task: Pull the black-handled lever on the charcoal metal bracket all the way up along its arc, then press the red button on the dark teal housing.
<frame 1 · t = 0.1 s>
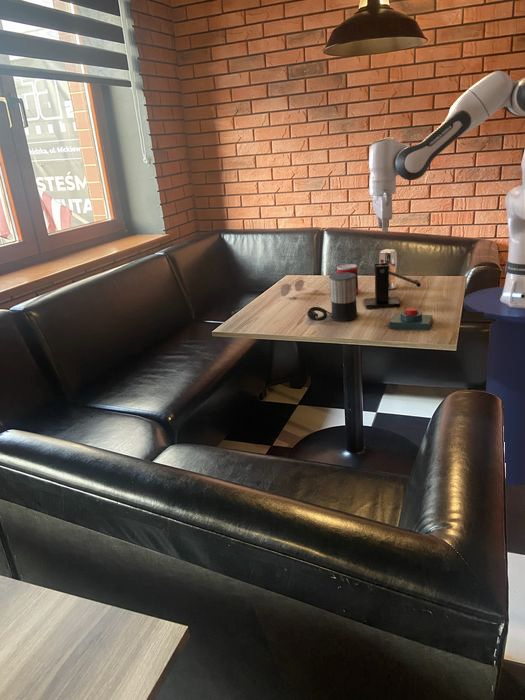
hand: (383, 230, 187), 27 cm above the table, tool pointing down, fingers open, 8 cm apart
sunglasses: (298, 295, 220), on the table
lever: (398, 276, 193), point 10 cm above the table, hinge at -25.0°
canned food: (348, 293, 216), on the table
button: (411, 311, 171), point 4 cm above the table, slide at 0.1 cm
milk frother: (332, 318, 187), on the table
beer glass: (388, 288, 218), on the table
bracket: (381, 304, 197), on the table
button box: (411, 325, 173), on the table
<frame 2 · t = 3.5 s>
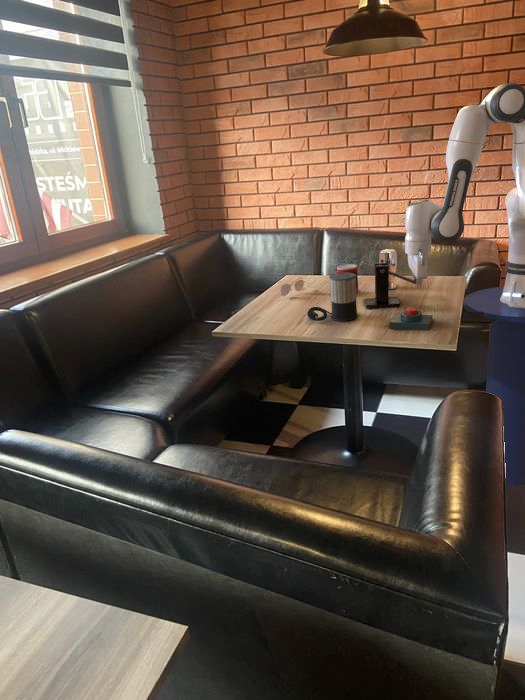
hand: (417, 285, 194), 6 cm above the table, tool pointing down, fingers closed on lever, 5 cm apart
lever: (398, 276, 193), point 10 cm above the table, hinge at -25.0°, touching gripper
everything else where it was.
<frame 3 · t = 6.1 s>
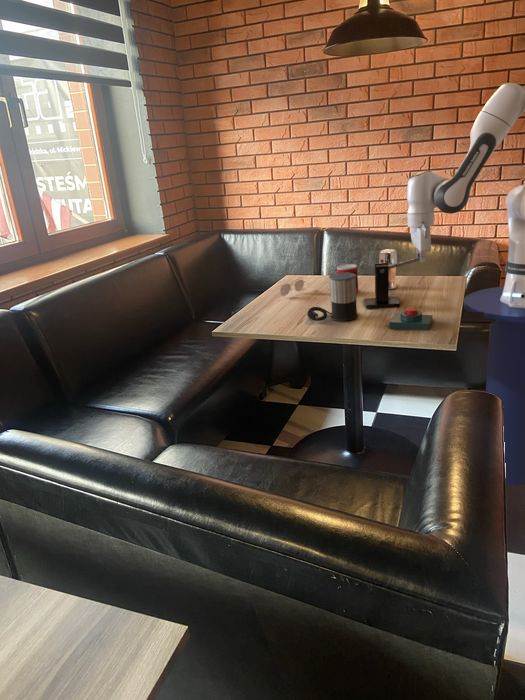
hand: (421, 260, 190), 15 cm above the table, tool pointing down, fingers closed on lever, 5 cm apart
lever: (400, 264, 192), point 14 cm above the table, hinge at 12.7°, touching gripper
everything else where it was.
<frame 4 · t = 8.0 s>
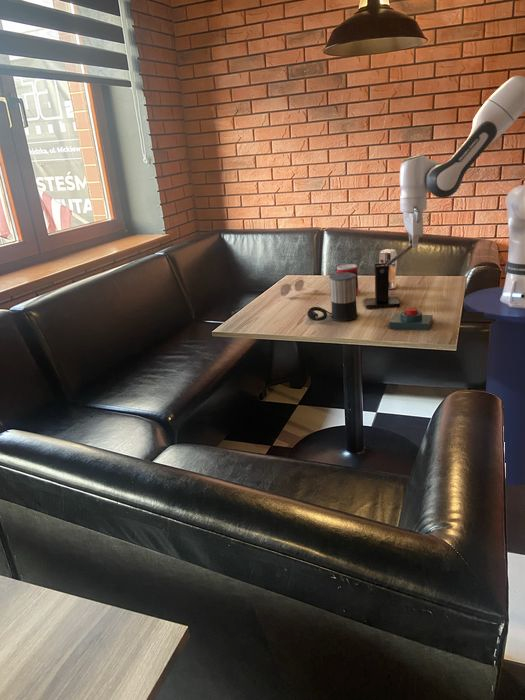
hand: (413, 245, 189), 21 cm above the table, tool pointing down, fingers closed on lever, 5 cm apart
lever: (396, 257, 191), point 17 cm above the table, hinge at 36.2°, touching gripper
everything else where it was.
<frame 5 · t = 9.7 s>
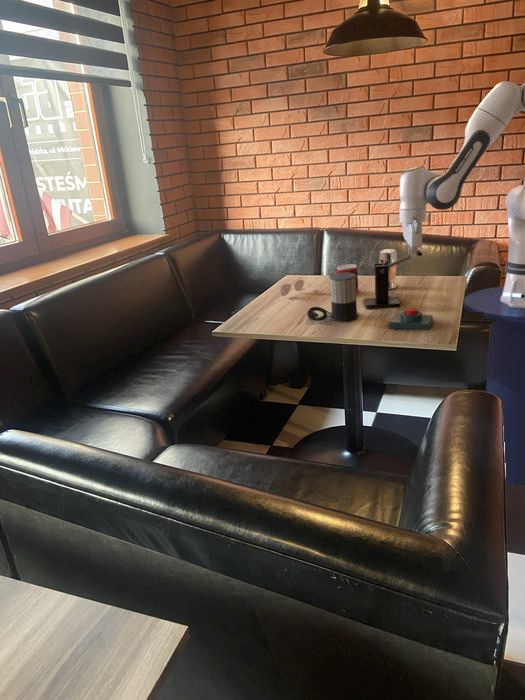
hand: (412, 256, 190), 17 cm above the table, tool pointing down, fingers open, 4 cm apart
lever: (399, 261, 191), point 15 cm above the table, hinge at 21.6°
everything else where it was.
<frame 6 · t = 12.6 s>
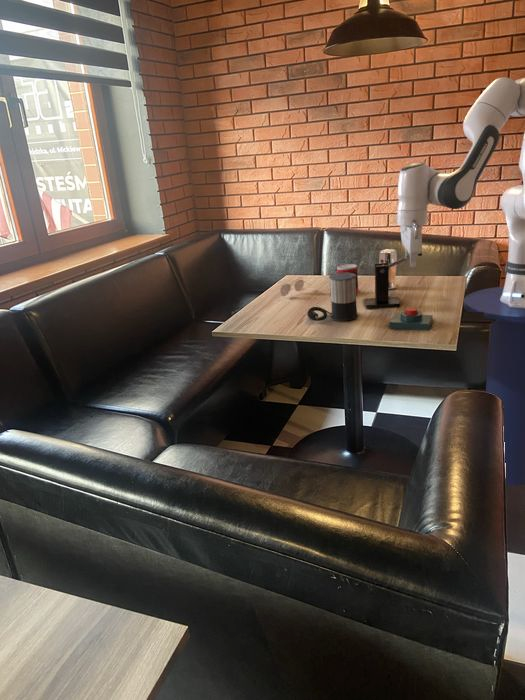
hand: (410, 263, 169), 19 cm above the table, tool pointing down, fingers open, 8 cm apart
nothing on the table moved.
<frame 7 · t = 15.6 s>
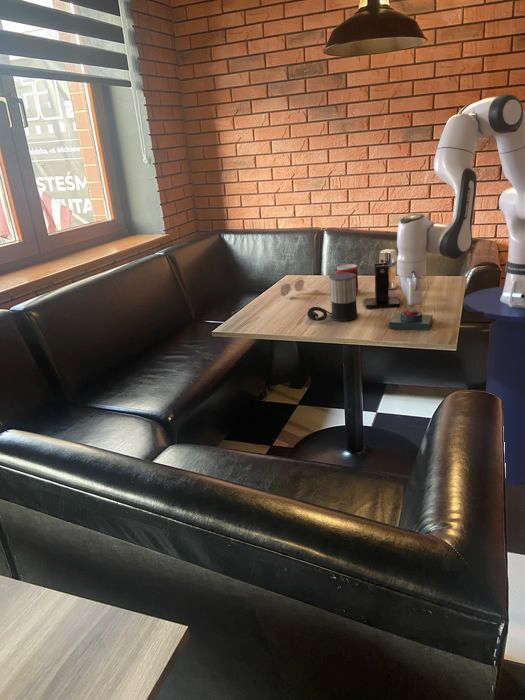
hand: (410, 311, 171), 5 cm above the table, tool pointing down, fingers closed, pressing on button
button: (411, 313, 172), point 4 cm above the table, slide at -0.5 cm, touching gripper
everything else where it was.
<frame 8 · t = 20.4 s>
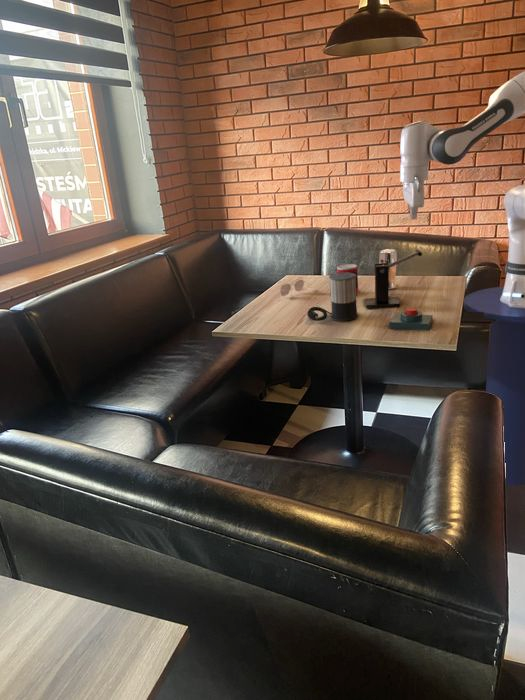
hand: (413, 218, 179), 31 cm above the table, tool pointing down, fingers closed
button: (411, 311, 171), point 4 cm above the table, slide at 0.1 cm
everything else where it was.
at the end: lever reached +36° during the clip, +22° at the end; lever at +22° (first picture: -25°); button pushed in 1.0 cm at the most during the clip, back to where it started at the end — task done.
